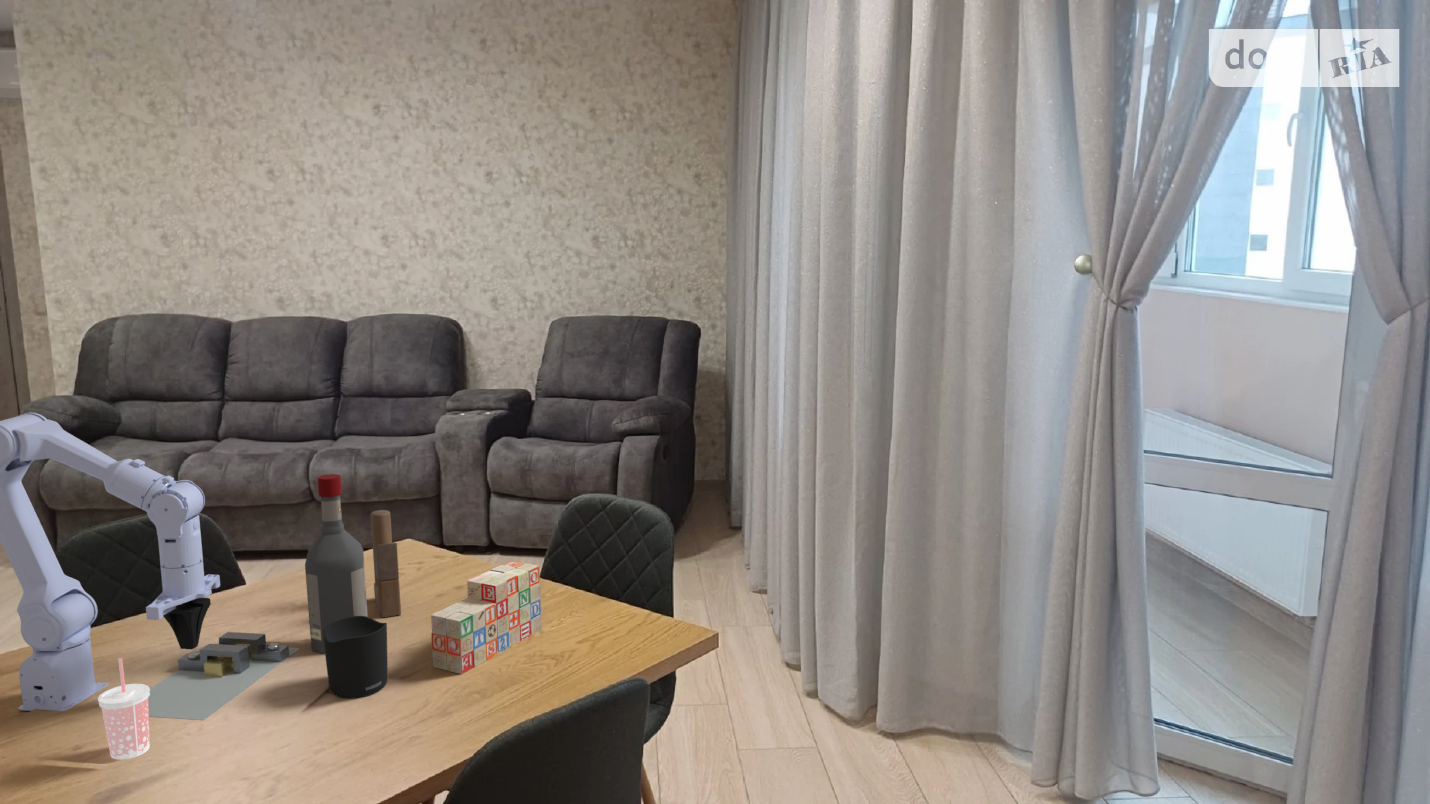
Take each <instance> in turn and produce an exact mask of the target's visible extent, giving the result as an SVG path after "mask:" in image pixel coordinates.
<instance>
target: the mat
mask: <svg viewBox="0 0 1430 804" xmlns="http://www.w3.org/2000/svg"><path fill="white" fill-rule="evenodd" d="M300 649H301V648H299V647H289V657H287V658H286V659H285V660H283V661H282V662H268V661H252V658H249V666H250V667H249V668H248V669H246V670H245V671H244V672H242V673H241V674H235V673H233V670H232V671H231V672H229V673H228V674H226V675H225V676H223V677H210V676H205V672H201V671H184V670H179V669H178V670H177V671H175V672H173V673H171V674H170V675H168V676H167V677H165V678H164V679H162V680H161V681H159V682H157V683H156V684H155V685H153V686H152V687H149V688H150V691H149V693H150V695H149V697H148V709H149V718H165V719H179V720H181V719H182V720H195V721H196V720H197V721H205V720H207V719H208V718H209V717H210V716H212V715H213V714H215V713H216V712H217V711H219V710H220V709H221V708H222V707H223V708H224V706H225V705H227V704H228V703H230V702H231V701H232V700H234V699H235V698H236V697H238V696H239V695H240V694H241V693H243V692H244V691H246V690H247V689H248V688H249V687H251V686H252V685H253V684H255V683H256V682H258V681H259V680H260V679H262V678H263V677H265V675H267V674H268V673H270V672H271V671H272V670H274V669H275V668H277V666H279V665H280V664H282V663H283V662H284V661H286V660H287V659H288V658H290V657H291V656H292V655H293V654H295V653H296V652H297V651H299V650H300Z"/></svg>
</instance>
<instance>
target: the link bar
mask: <svg viewBox="0 0 1430 804" xmlns="http://www.w3.org/2000/svg"><path fill="white" fill-rule="evenodd" d="M232 645H241V646H248V655H249V658H251V646H250V645H249V644H232ZM204 670H205V676H210V677H223V676H225V675H226V674H228V673H229V672H231V671H232V670H233V661H232V657H223V656H214V657H213V658H211V659H210V660H208V661H207V662H205V663H204Z"/></svg>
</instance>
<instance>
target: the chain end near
mask: <svg viewBox="0 0 1430 804" xmlns="http://www.w3.org/2000/svg"><path fill="white" fill-rule="evenodd" d="M214 656H223V657H232V661H233V673H235V674H241V673H242V672H244V671H245V670H246V669H248V668H249V667H250V666H249V655H248V646H241V645H223V644H219V643H208V644H206V645H205V646H204V647H202V648H200V649H199V651H196V650H195V651H191V652H188V653H187V654H185V655H183V656H181V657H180V658H178V659H177V664H178V665H177V666H178V670H184V671H201V672H205V670H204V663H205V662H207V661H208V660H210V659H211V658H213V657H214Z"/></svg>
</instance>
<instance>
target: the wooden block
mask: <svg viewBox="0 0 1430 804" xmlns="http://www.w3.org/2000/svg"><path fill="white" fill-rule="evenodd" d="M370 523H371V525H370V526H371V538H372V539H371V541H372V557H373V571H374V572H373V573H374V583H373V589H374V591H373V592H374V600H375V603H376V606H377V608H378V611H379V615H380V617H381V618H382V617H385V618H391V617H390V616H392V617H397V616H396V615H398V616H401V615H402V606H401V603H402V602H401V589H400V588H401V587H400V579H399V578H400V575H399V574H400V572H399V559H398V558H399V557H398V544H397V543H398V542H393V537H392V536H393V535H392V519H391V512H390V511H389V510H387V509H379V510H374V511H372V512H371V513H370Z"/></svg>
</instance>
